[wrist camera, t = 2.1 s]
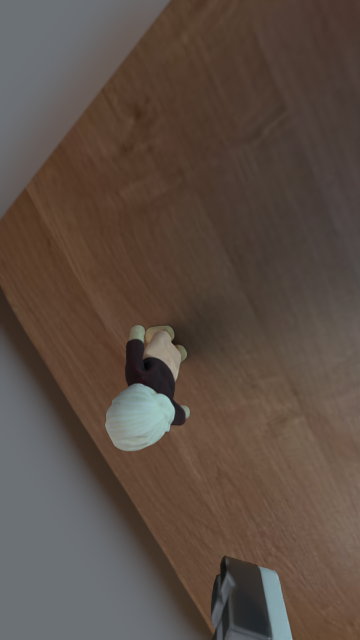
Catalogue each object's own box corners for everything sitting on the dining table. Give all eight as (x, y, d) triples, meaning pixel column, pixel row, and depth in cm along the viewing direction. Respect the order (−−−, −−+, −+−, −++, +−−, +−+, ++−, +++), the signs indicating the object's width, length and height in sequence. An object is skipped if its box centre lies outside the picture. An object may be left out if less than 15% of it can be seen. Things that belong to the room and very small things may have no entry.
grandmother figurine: (127, 332, 24) (44, 399, 12) (157, 307, 24) (101, 350, 11) (179, 392, 25) (152, 514, 13) (210, 369, 24) (213, 475, 12)
